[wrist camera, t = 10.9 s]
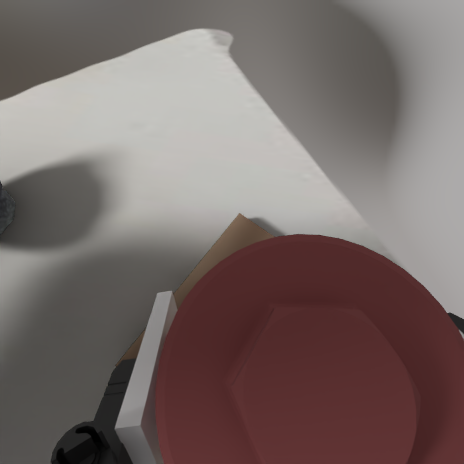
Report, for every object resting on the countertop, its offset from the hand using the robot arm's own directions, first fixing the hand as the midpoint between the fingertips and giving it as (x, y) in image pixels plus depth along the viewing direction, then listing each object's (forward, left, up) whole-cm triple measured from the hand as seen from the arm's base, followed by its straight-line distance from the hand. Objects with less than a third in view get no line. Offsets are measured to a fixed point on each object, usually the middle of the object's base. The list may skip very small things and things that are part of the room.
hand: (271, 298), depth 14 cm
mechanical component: (+2, -2, -5) cm, 6 cm away
